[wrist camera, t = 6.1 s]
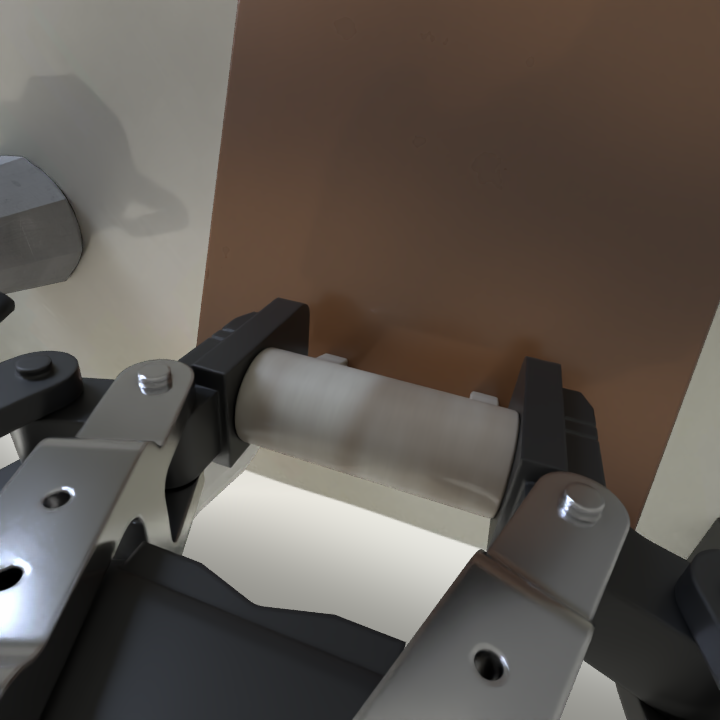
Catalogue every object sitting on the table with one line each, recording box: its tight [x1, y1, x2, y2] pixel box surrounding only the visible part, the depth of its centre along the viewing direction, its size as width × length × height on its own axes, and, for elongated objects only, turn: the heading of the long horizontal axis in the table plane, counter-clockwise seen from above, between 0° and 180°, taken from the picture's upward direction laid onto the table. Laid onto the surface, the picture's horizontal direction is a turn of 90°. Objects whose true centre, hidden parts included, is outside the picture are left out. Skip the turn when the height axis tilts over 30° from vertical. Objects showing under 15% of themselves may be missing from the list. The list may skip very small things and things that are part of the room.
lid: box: [196, 0, 720, 530], centre depth 10 cm, size 16×13×5 cm
